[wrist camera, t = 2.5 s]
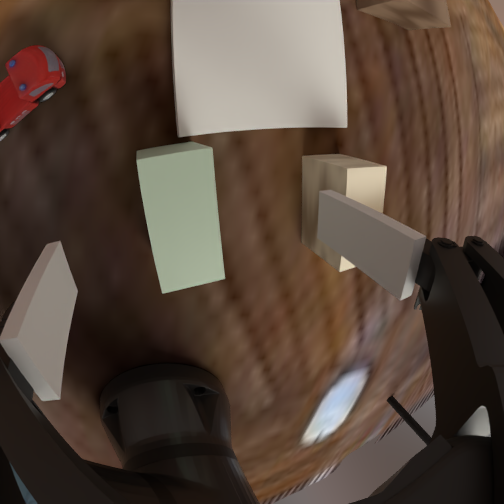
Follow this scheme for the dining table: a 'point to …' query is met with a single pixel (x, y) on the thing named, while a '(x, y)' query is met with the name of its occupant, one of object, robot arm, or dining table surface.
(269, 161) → the dining table surface
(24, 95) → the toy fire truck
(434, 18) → the walnut brick
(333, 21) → the grey plate
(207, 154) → the sage brick
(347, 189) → the birch brick
